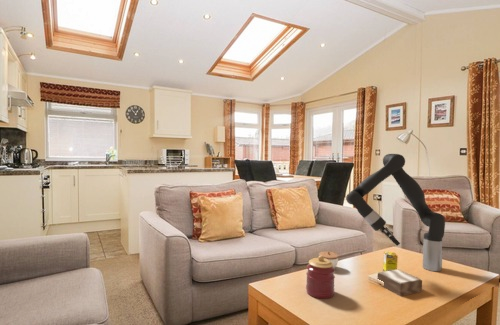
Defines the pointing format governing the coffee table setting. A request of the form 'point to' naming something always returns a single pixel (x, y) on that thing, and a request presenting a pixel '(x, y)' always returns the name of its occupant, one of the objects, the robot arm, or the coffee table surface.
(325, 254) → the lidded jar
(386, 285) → the silver-topped wooden block
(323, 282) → the canister
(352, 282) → the coffee table surface
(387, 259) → the supplement box
